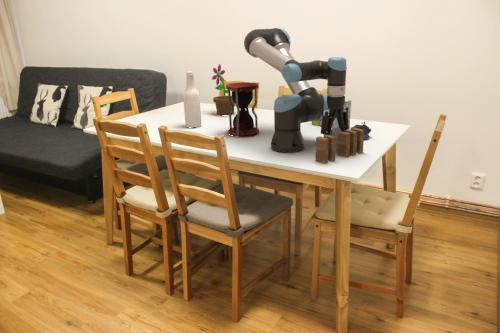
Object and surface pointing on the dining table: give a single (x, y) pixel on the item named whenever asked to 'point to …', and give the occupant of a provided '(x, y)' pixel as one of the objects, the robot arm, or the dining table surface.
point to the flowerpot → (221, 101)
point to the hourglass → (242, 109)
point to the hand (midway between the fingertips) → (334, 147)
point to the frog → (363, 127)
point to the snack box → (335, 122)
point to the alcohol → (191, 102)
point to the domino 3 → (335, 133)
